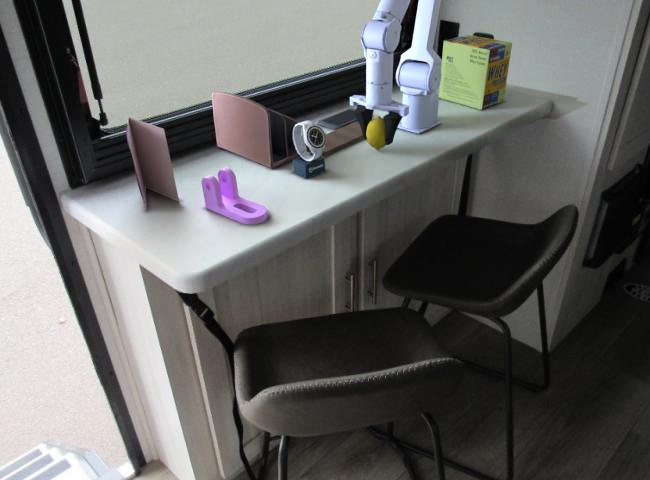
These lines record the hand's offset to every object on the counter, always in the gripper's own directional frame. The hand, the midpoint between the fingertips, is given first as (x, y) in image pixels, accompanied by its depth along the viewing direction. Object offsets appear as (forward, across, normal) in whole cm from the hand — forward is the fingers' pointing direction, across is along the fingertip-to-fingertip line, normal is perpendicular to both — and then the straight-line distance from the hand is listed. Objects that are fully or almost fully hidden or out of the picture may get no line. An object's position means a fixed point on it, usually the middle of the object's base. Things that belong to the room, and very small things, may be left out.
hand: (378, 141), depth 132 cm
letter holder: (+2, -23, -16) cm, 28 cm away
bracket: (+2, -6, -41) cm, 41 cm away
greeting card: (+2, -25, -45) cm, 51 cm away
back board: (+2, -11, +1) cm, 11 cm away
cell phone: (+2, -18, +12) cm, 22 cm away
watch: (+2, -6, -18) cm, 20 cm away
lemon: (+2, 0, 0) cm, 2 cm away
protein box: (+2, +3, +45) cm, 45 cm away
